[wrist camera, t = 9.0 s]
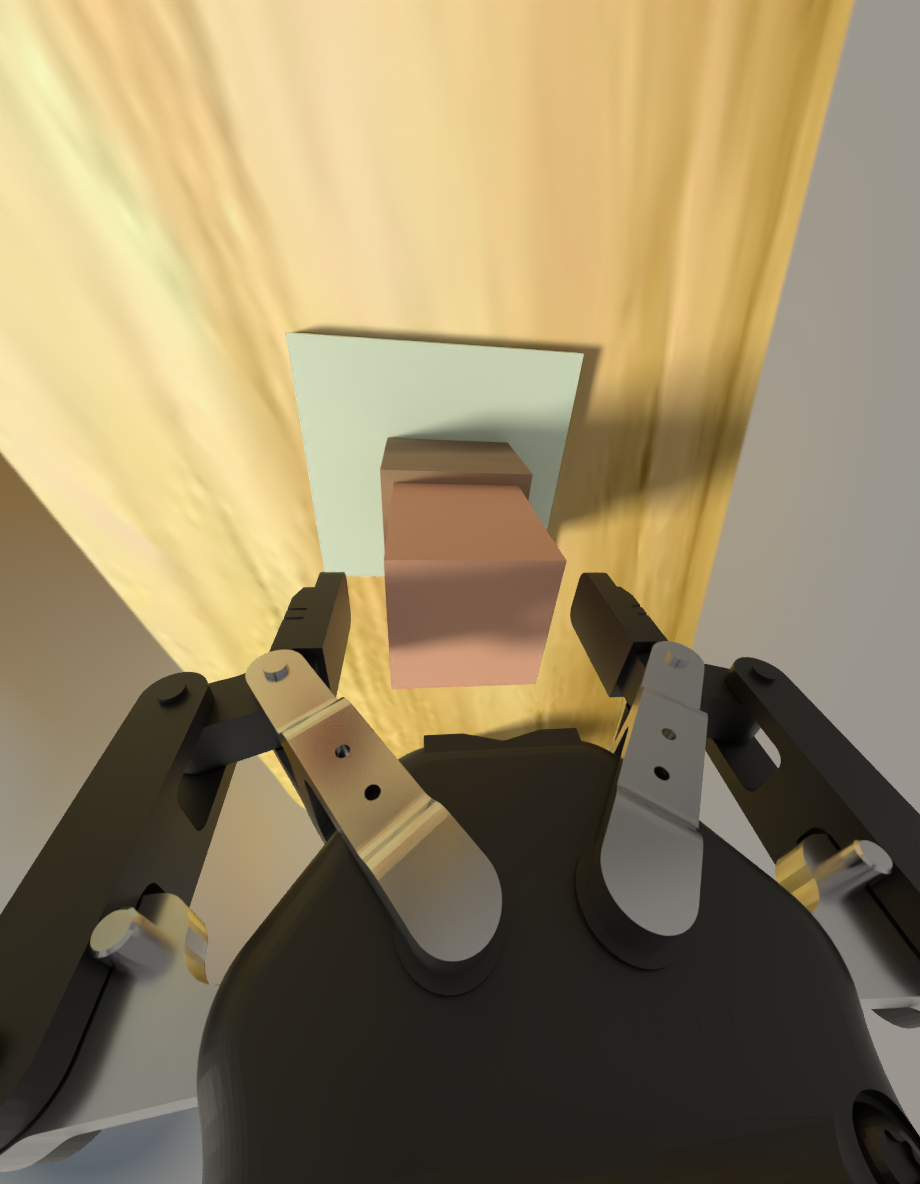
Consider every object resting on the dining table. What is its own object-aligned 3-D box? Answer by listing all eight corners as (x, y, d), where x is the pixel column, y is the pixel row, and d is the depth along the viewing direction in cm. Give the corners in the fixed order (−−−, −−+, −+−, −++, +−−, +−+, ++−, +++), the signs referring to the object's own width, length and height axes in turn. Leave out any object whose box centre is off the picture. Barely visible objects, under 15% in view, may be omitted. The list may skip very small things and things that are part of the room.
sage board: (292, 332, 17) (285, 332, 16) (575, 352, 18) (583, 353, 18) (328, 565, 24) (324, 576, 23) (532, 566, 25) (537, 576, 24)
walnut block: (387, 437, 19) (380, 469, 15) (507, 442, 19) (532, 474, 15) (392, 547, 22) (387, 597, 18) (494, 547, 23) (512, 596, 19)
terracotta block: (393, 482, 15) (383, 560, 10) (518, 486, 16) (566, 560, 11) (397, 588, 18) (391, 689, 13) (503, 588, 18) (535, 684, 14)
